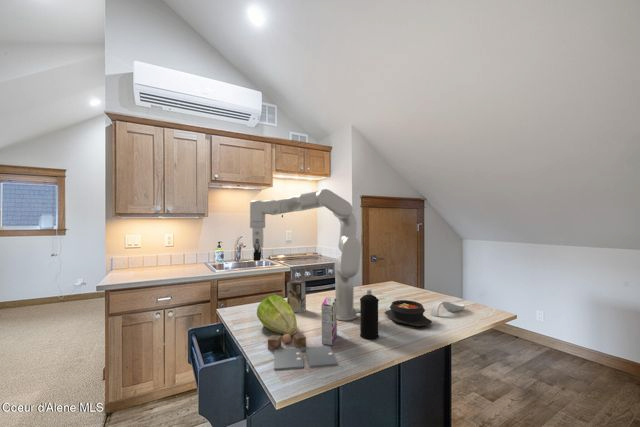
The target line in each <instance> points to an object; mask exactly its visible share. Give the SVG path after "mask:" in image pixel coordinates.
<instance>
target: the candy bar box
mask: <svg viewBox="0 0 640 427" xmlns="http://www.w3.org/2000/svg"><path fill="white" fill-rule="evenodd" d="M321 303H322V304H321V345H322V346H334V343H335V341H336V337H337V335H338V331H337V330H338V328H337V327H338V324H337V323H338V320H337V308H336V298H335V297H330V296H328V297H327V296H326V297H325V299H324V300H323V302H321Z"/></svg>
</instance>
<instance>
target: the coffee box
mask: <svg viewBox="0 0 640 427" xmlns="http://www.w3.org/2000/svg"><path fill="white" fill-rule="evenodd" d="M306 284H307V283H306V281H305V280H294V279H293V280H289V281H288V282H287V283H286V288H287V290H286V293H287V294H286V295H287V296H286V297H287V300H286V302H287V303H288V304H289V305H290V306H291V308H292V310H293V312H294V313H298V314H299V313H300V314H302V313H304V312H305V311H307V304H306V303H307V299H306V298H307V295H306V294H307V293H306V292H307V287H306V286H307V285H306Z"/></svg>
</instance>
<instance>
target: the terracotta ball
mask: <svg viewBox="0 0 640 427" xmlns="http://www.w3.org/2000/svg"><path fill="white" fill-rule="evenodd" d="M291 340H292V335H289V334H283V336H282V342H283V343H284V344H289V343H290V342H291Z"/></svg>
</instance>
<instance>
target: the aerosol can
mask: <svg viewBox="0 0 640 427" xmlns="http://www.w3.org/2000/svg"><path fill="white" fill-rule="evenodd" d="M372 291H373V290H372V289H366V294H364V295H363V296H361V297H360V299H359V302H360V304H359V305H360V308H359V309H360V313H359V314H360V316H359V317H360V319H359V320H360V322H359V324H360V328H359V329H360V332H359V333H360V334H359V336H360V338H361V339H365V340H369V341H373V340H377V339H379V337H380V335H379V302H380V300H379V299H378V297H376V295H374V294H372Z"/></svg>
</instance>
